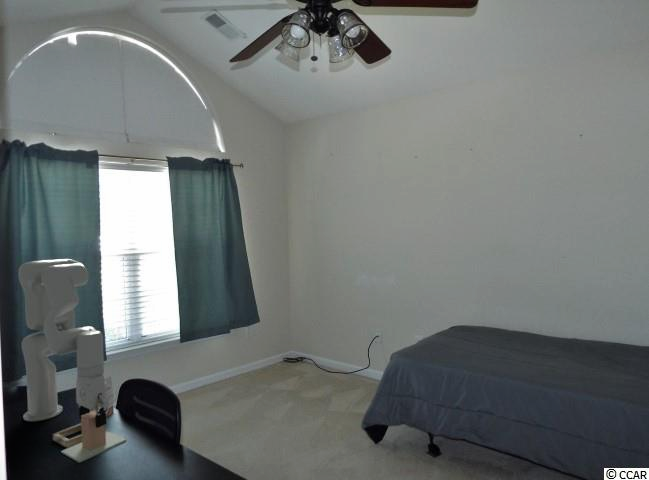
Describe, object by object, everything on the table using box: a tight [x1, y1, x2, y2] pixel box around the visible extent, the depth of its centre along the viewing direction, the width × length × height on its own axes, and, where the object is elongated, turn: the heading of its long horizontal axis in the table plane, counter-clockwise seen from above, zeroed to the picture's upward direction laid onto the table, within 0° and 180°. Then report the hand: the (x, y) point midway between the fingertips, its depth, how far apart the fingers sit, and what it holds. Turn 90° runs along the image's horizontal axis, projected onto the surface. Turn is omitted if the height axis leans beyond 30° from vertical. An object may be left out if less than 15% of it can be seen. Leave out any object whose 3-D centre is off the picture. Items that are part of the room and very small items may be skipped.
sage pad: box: [61, 430, 127, 463], centre depth 138 cm, size 11×15×1 cm
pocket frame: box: [52, 422, 82, 449], centre depth 145 cm, size 10×10×2 cm
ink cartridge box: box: [90, 375, 115, 418], centre depth 160 cm, size 9×5×15 cm, turn 168°
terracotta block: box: [80, 411, 107, 451], centre depth 138 cm, size 5×5×10 cm
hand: (92, 422), depth 138 cm, fingers open, 9 cm apart
